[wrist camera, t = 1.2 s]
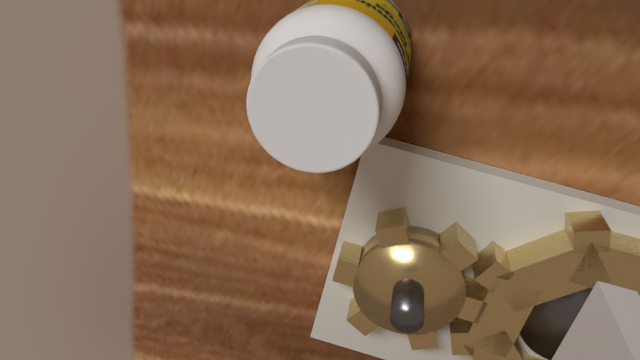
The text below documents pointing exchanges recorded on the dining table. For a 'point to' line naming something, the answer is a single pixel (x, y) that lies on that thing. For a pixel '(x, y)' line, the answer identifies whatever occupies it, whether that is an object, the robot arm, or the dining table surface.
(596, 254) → the gear
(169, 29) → the dining table surface
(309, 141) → the pill bottle
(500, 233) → the gear board
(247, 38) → the dining table surface
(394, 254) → the gear
